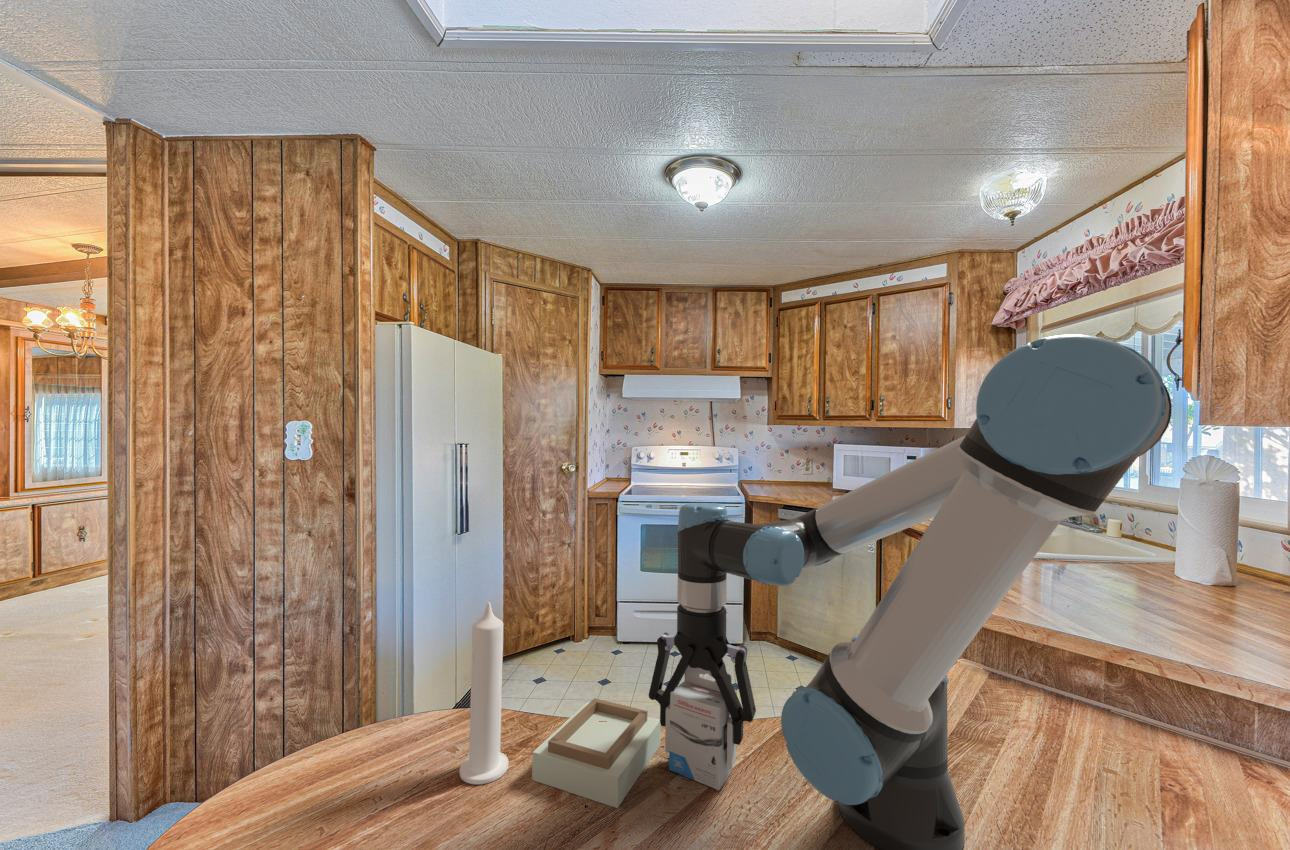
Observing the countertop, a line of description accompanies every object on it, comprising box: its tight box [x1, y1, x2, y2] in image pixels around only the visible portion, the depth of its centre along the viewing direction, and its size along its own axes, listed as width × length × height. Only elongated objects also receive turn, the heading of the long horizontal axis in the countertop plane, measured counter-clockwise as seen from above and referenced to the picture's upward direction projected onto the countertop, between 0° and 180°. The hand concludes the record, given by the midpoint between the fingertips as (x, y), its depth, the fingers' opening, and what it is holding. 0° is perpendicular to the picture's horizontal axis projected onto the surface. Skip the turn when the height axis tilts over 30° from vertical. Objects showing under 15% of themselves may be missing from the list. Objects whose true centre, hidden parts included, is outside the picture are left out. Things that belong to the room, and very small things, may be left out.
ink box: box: [668, 666, 733, 791], centre depth 77 cm, size 9×5×15 cm, turn 58°
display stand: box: [531, 698, 662, 809], centre depth 79 cm, size 14×16×6 cm
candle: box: [458, 601, 510, 785], centre depth 77 cm, size 7×7×25 cm
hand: (700, 755), depth 76 cm, fingers closed on ink box, 9 cm apart
